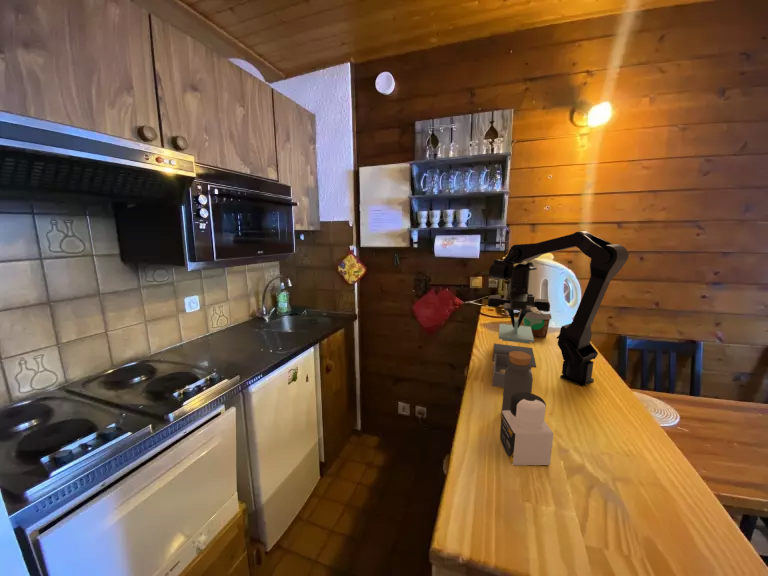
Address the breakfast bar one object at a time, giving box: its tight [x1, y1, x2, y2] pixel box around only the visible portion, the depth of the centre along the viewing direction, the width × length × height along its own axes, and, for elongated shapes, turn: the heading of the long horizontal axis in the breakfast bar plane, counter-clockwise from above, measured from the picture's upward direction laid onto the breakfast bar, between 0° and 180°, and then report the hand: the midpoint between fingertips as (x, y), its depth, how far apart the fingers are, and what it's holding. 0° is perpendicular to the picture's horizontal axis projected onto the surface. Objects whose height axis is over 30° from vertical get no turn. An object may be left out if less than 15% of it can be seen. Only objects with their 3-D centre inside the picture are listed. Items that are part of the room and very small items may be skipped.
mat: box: [492, 343, 537, 368], centre depth 108 cm, size 16×13×1 cm
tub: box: [491, 354, 534, 393], centre depth 92 cm, size 14×10×4 cm
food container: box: [522, 310, 552, 339], centre depth 127 cm, size 12×6×10 cm, turn 25°
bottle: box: [501, 351, 533, 412], centre depth 73 cm, size 6×6×15 cm
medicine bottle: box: [499, 392, 554, 466], centre depth 61 cm, size 7×7×12 cm
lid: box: [498, 317, 535, 344], centre depth 106 cm, size 14×10×6 cm
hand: (515, 327), depth 106 cm, fingers closed on lid
